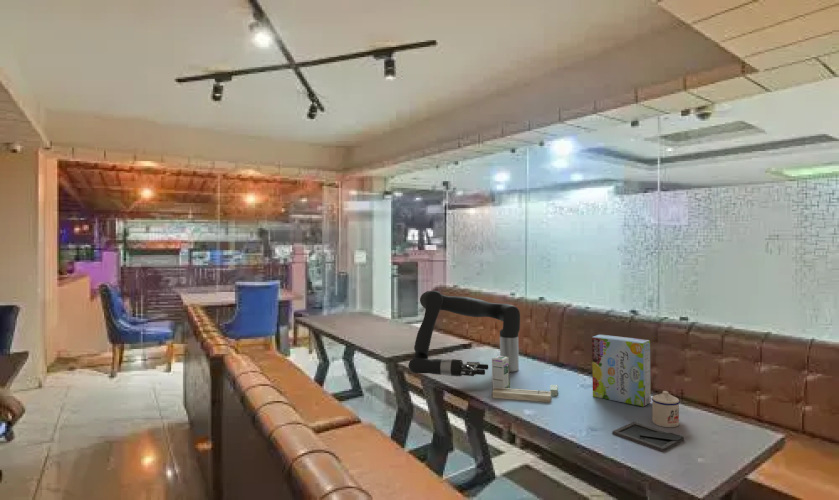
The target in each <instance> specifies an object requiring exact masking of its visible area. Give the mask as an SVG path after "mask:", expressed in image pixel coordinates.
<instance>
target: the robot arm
mask: <svg viewBox="0 0 839 500" xmlns="http://www.w3.org/2000/svg"><path fill="white" fill-rule="evenodd" d="M419 302H420V303H419V304H420V305H421V306H422V308H424V309H425V310H424V314H423V315H424V316H423V319H422V321H421V324H420V325H419V329H418V331H417V334H416V337H415V342H414V349H413V350H414V357H413V358H411V359H410V360H409V362H408V369H409V371H410V372H412V373H413V374H431V375H438V376H440V375H441V376H447V377H449V376H450V377H462V376H468V377H474V376H478V375H480V376H481V375H482V376H484V375H486V370H489V364H486V363H485V364H483V363H480V362H479V361H467V362H466V363H464V361H463V360H462V359H456V358H455V359H453V358H452V359H451V358H444V359H443V358H432V359H430V358H429V350H430V345H431V341H432V336H433V332H434V329H435V324H436V323H437V318H438V316H439V314H440V312H441V311H444V312H445V311H446V312H451V313H453V314H457V315H460V316H461V315H462V316H466V317H472V318H492V319H496V320H499V321H501V322H503V324H502V329H500V330H499V356H506V357H509V373H510V372H511V373H514V372H518V371H519V370H520V367H519V366H520V365H519V362H520V361H519V355H520V354H519V334H520V333H519V332H520V330H521V313H520V309H519V308H518V307H517V306H516V305H512V304H509V303H494V302H489V301H485V300H483V299H480V298H474V297H468V296H454V295H453V296H452V295H451V296H449V295H445V294H442V293H441V292H440V291H438V290H427V291H424V292H423V293H422V294H421V295H420V298H419Z"/></svg>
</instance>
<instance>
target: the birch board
mask: <svg viewBox="0 0 839 500" xmlns="http://www.w3.org/2000/svg"><path fill="white" fill-rule="evenodd" d="M492 398H493V399H507V400H518V401H533V402H542V403H543V402H544V403H545V402H546V403H551V401H552V395H551V391H550V390H549V391H547V390H535V389H534V390H533V389H520V388H494V390H493V389H492Z"/></svg>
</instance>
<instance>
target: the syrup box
mask: <svg viewBox="0 0 839 500" xmlns="http://www.w3.org/2000/svg"><path fill="white" fill-rule="evenodd" d="M491 374H492V376H491V377H492V391H493V390H494V388H509V389H511V387H510V383H511V382H510V372H509V357H506V356H500V355H497V356H495V357H492V358H491Z"/></svg>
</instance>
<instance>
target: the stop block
mask: <svg viewBox="0 0 839 500" xmlns="http://www.w3.org/2000/svg"><path fill="white" fill-rule="evenodd" d="M549 388H550V389H549V391H551V396H552V397H553V396H555V397H557V396H558V394H559V393H558V392H559V389H558V388H559V386H558V385H557V384H550V386H549Z"/></svg>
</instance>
